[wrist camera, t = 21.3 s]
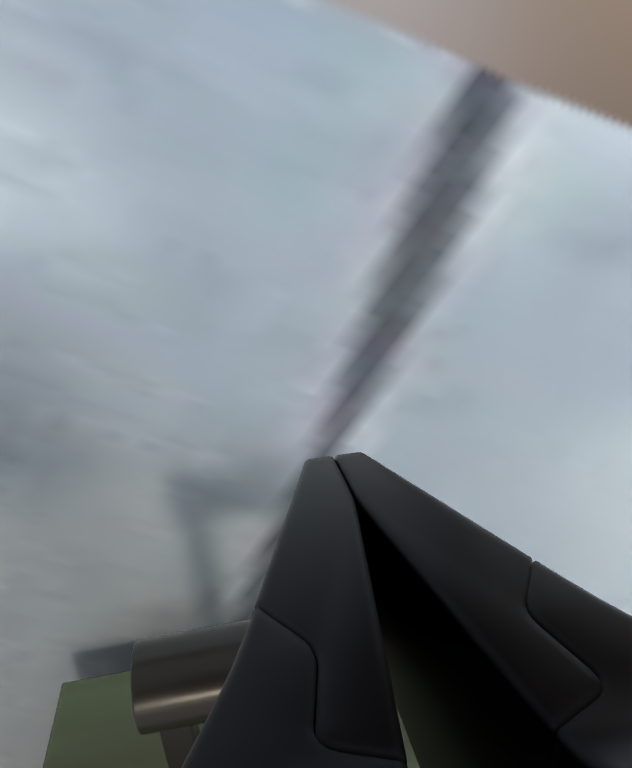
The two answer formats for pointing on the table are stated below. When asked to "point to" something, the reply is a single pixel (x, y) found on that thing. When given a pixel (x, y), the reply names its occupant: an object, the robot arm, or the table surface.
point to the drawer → (150, 703)
